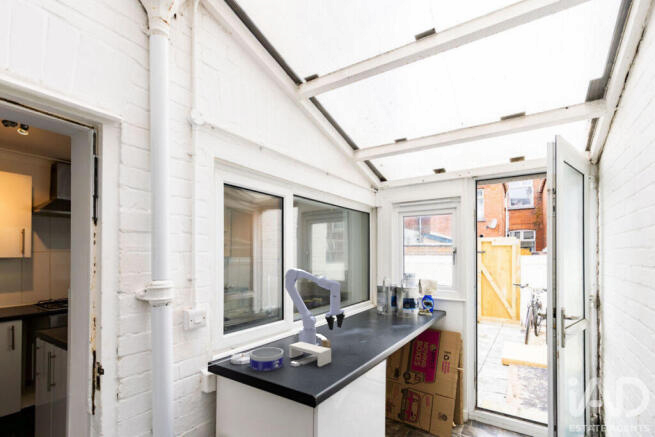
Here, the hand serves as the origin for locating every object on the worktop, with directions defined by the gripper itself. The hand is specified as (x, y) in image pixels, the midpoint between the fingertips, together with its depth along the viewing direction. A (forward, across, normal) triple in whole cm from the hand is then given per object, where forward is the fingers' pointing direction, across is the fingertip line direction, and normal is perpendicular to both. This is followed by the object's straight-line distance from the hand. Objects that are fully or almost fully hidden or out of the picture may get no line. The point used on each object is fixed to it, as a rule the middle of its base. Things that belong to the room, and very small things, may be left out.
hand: (335, 328), depth 179 cm
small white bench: (+9, -26, -4) cm, 28 cm away
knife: (+10, +9, +22) cm, 26 cm away
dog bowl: (+10, -44, +6) cm, 45 cm away
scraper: (+10, -23, -5) cm, 25 cm away
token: (+10, -36, -4) cm, 37 cm away
